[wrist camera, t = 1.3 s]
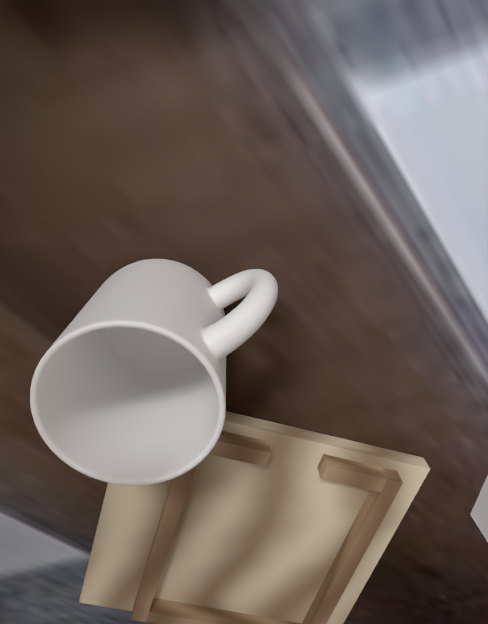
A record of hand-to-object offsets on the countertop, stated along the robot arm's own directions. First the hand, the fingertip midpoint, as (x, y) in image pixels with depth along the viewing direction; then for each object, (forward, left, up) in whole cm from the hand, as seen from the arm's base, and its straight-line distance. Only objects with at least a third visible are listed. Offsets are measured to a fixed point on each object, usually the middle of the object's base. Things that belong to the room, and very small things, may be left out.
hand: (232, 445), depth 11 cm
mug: (-2, -4, -18) cm, 19 cm away
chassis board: (+7, -21, -18) cm, 28 cm away
